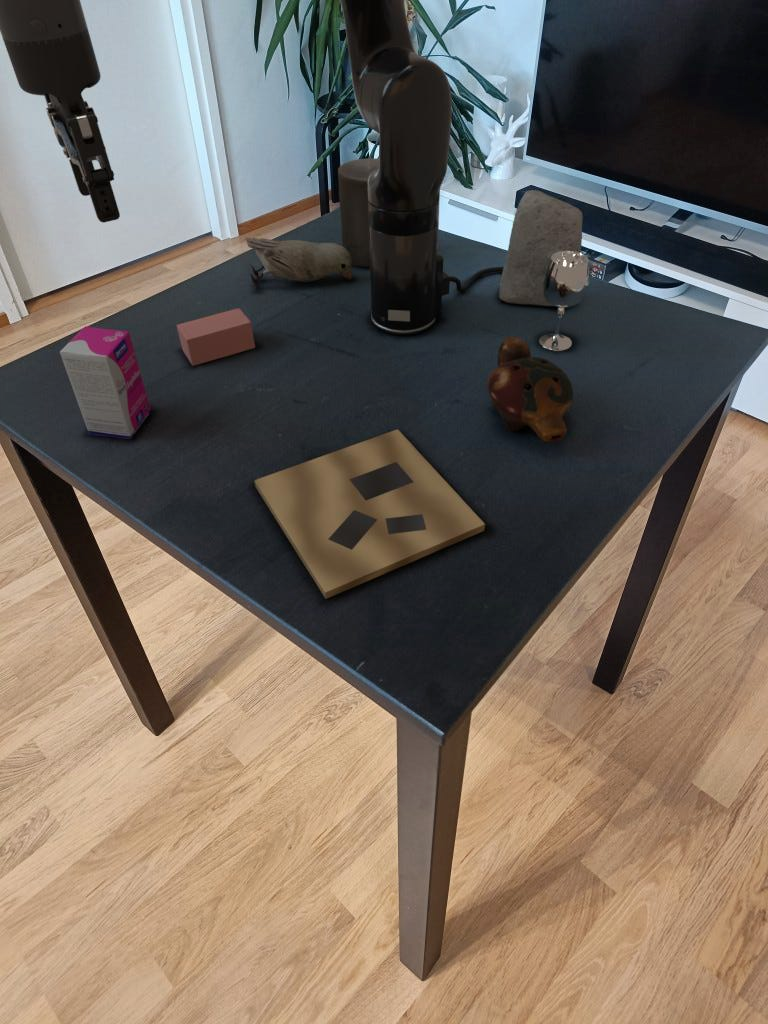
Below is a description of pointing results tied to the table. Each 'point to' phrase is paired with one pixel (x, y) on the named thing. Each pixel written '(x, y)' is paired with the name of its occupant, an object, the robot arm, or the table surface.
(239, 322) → the eraser
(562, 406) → the brown ceramic rounded figure
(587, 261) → the wineglass
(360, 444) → the board
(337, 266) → the decorative bird
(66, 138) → the robot arm
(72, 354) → the supplement box
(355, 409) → the table surface
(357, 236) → the pillar candle
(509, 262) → the decorative stone
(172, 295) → the table surface
